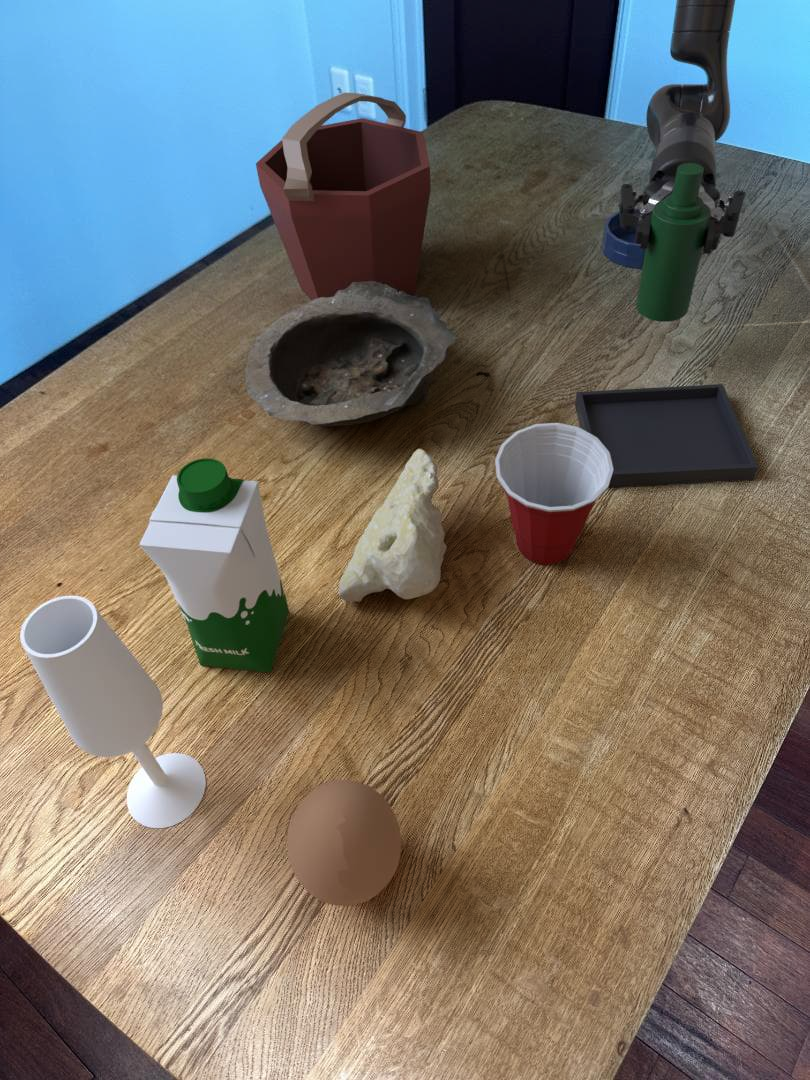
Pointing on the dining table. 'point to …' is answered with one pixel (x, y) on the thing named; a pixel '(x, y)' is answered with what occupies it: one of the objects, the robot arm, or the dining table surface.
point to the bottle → (674, 248)
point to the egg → (344, 842)
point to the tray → (668, 435)
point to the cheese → (400, 539)
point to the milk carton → (220, 566)
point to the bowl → (621, 243)
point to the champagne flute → (110, 705)
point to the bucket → (349, 197)
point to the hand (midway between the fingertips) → (676, 243)
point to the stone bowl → (348, 356)
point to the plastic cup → (551, 486)
